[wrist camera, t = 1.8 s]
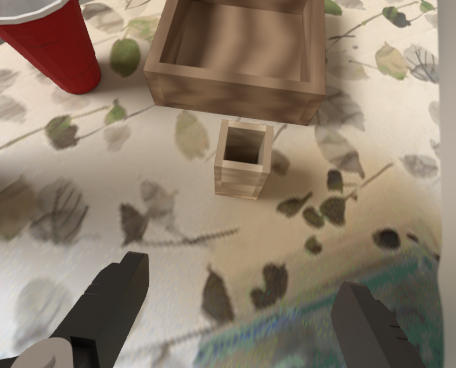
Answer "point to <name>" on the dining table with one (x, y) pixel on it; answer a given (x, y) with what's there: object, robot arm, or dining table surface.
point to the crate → (240, 58)
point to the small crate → (242, 159)
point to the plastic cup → (52, 41)
